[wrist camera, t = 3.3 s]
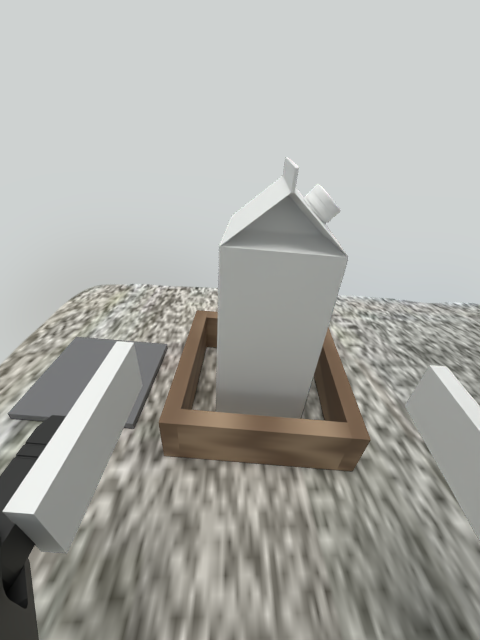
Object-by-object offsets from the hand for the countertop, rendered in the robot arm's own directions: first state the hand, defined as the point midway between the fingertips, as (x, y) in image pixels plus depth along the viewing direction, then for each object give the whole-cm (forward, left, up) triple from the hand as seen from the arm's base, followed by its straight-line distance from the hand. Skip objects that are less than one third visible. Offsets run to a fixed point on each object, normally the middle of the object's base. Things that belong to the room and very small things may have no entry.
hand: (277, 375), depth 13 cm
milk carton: (0, -9, -11) cm, 14 cm away
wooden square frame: (0, -9, -11) cm, 14 cm away
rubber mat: (+15, -9, -11) cm, 20 cm away
